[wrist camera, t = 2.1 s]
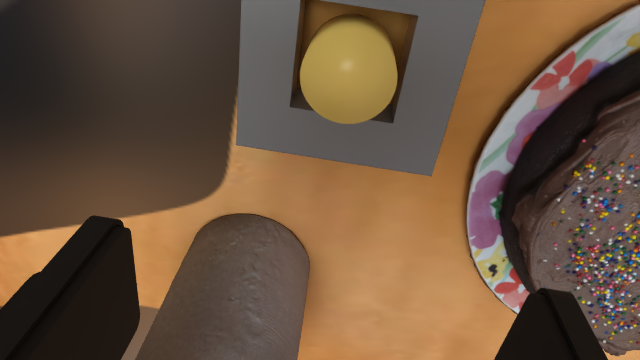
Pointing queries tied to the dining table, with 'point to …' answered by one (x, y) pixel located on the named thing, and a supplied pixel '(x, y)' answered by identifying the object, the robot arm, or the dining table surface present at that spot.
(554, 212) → the chocolate cake
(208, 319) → the pillar candle
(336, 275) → the dining table surface
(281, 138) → the console
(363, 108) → the mustard button
